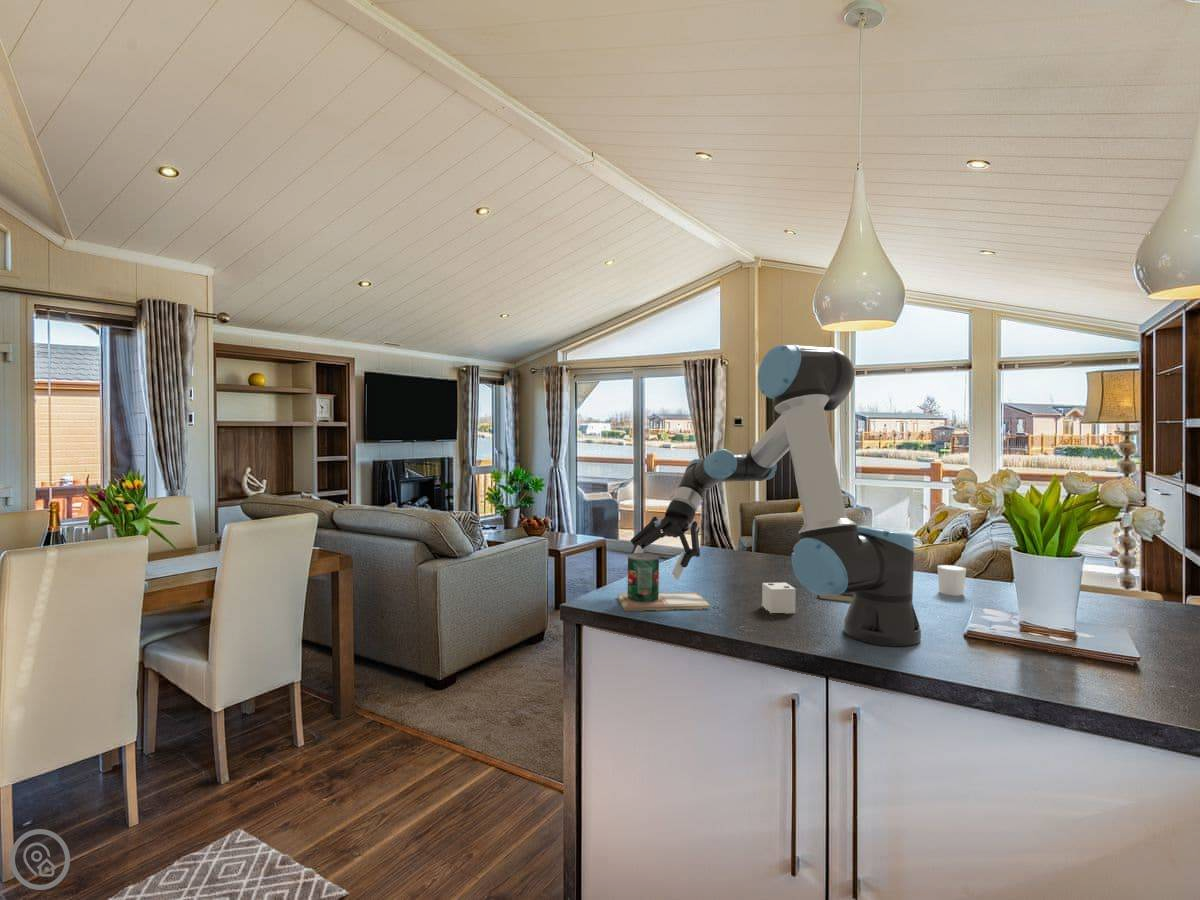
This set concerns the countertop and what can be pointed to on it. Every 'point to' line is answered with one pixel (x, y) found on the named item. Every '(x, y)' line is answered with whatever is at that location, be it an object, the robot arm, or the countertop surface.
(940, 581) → the white short cylinder
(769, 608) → the die
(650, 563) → the canned tomato
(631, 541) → the robot arm
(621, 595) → the game board
